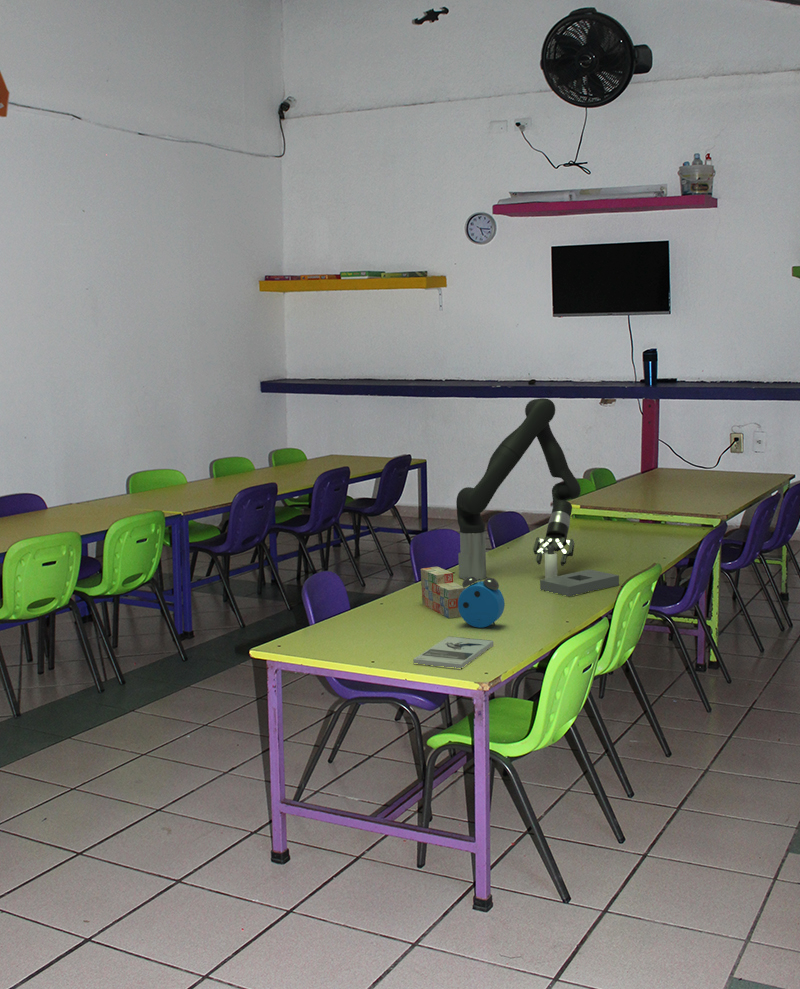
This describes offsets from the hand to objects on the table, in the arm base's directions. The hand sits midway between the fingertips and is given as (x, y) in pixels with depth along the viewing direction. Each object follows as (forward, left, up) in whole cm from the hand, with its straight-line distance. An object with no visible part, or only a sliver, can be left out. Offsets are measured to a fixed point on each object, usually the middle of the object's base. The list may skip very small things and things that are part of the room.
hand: (550, 563), depth 351 cm
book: (-79, -45, -7) cm, 91 cm away
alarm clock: (-55, -28, -7) cm, 62 cm away
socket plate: (+1, -14, -6) cm, 15 cm away
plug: (+1, 0, -6) cm, 7 cm away
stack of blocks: (-52, -4, -7) cm, 52 cm away
